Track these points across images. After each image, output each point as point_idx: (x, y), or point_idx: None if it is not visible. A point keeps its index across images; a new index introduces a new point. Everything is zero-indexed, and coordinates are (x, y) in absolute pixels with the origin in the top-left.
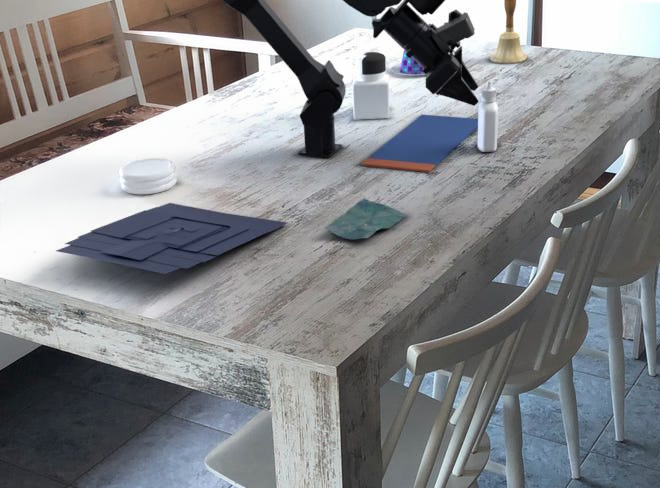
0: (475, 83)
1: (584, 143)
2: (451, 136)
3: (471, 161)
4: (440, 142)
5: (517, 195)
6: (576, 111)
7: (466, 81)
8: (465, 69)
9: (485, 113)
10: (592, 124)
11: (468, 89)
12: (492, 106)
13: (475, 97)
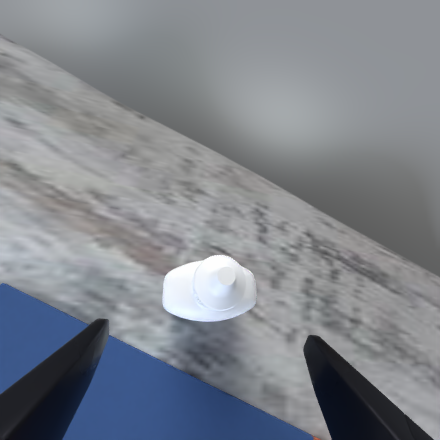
0: (99, 334)
1: (205, 151)
2: (111, 385)
3: (275, 338)
4: (152, 422)
5: (413, 274)
6: (40, 121)
7: (74, 392)
8: (15, 438)
9: (255, 303)
10: (121, 122)
11: (392, 406)
12: (246, 279)
13: (336, 352)
